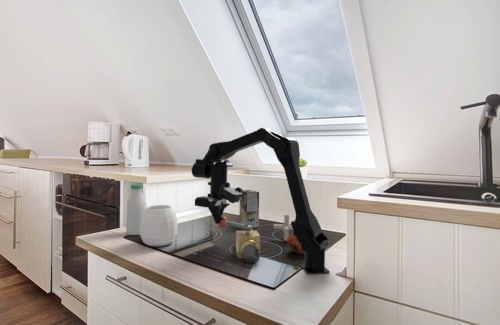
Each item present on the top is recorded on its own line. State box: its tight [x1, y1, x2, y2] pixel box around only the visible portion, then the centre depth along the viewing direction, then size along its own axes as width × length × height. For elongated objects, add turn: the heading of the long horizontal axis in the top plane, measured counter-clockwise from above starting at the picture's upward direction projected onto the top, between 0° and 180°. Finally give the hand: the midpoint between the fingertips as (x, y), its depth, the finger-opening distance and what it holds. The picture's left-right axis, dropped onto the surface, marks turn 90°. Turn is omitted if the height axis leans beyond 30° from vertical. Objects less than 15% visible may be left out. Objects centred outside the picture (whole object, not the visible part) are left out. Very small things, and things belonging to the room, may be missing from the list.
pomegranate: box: [286, 232, 305, 256], centre depth 99 cm, size 7×7×10 cm
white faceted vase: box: [139, 204, 179, 247], centre depth 107 cm, size 13×13×14 cm
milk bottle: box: [125, 183, 148, 236], centre depth 120 cm, size 8×8×20 cm
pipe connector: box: [273, 213, 293, 242], centre depth 114 cm, size 10×10×10 cm
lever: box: [217, 215, 254, 231], centre depth 101 cm, size 15×3×3 cm, turn 50°
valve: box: [235, 230, 261, 265], centre depth 97 cm, size 17×7×8 cm, turn 9°
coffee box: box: [239, 189, 260, 229], centre depth 136 cm, size 9×6×16 cm
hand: (217, 223), depth 103 cm, fingers closed
